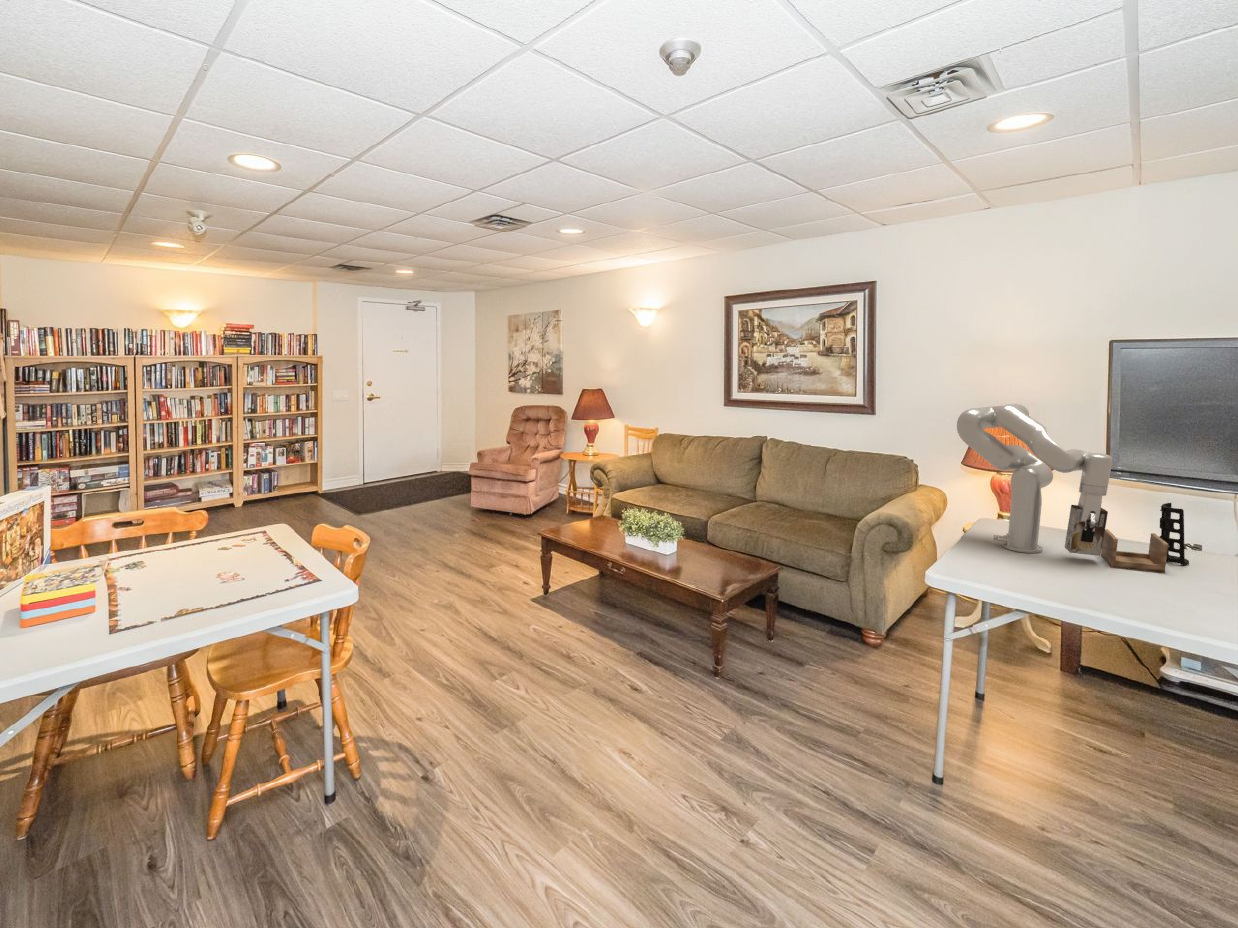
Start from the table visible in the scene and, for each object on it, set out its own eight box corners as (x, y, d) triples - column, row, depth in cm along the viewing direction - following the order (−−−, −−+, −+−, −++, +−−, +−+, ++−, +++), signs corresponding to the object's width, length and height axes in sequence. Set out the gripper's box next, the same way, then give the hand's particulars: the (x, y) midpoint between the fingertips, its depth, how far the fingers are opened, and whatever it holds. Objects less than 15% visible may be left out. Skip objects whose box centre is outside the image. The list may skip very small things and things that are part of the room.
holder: (1198, 565, 204) (1198, 508, 201) (1172, 566, 205) (1172, 509, 203) (1175, 556, 214) (1175, 501, 212) (1150, 557, 216) (1150, 503, 214)
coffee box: (1094, 550, 213) (1102, 507, 210) (1100, 556, 207) (1109, 511, 204) (1063, 547, 216) (1071, 504, 213) (1069, 552, 210) (1076, 508, 207)
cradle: (1110, 567, 204) (1114, 538, 203) (1101, 555, 217) (1104, 529, 215) (1164, 573, 198) (1168, 543, 197) (1151, 561, 210) (1154, 533, 209)
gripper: (1074, 483, 216) (1066, 530, 220) (1084, 493, 201) (1076, 544, 205) (1100, 485, 213) (1092, 533, 216) (1113, 496, 198) (1103, 547, 201)
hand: (1084, 538), depth 211 cm, fingers closed on coffee box, 6 cm apart
